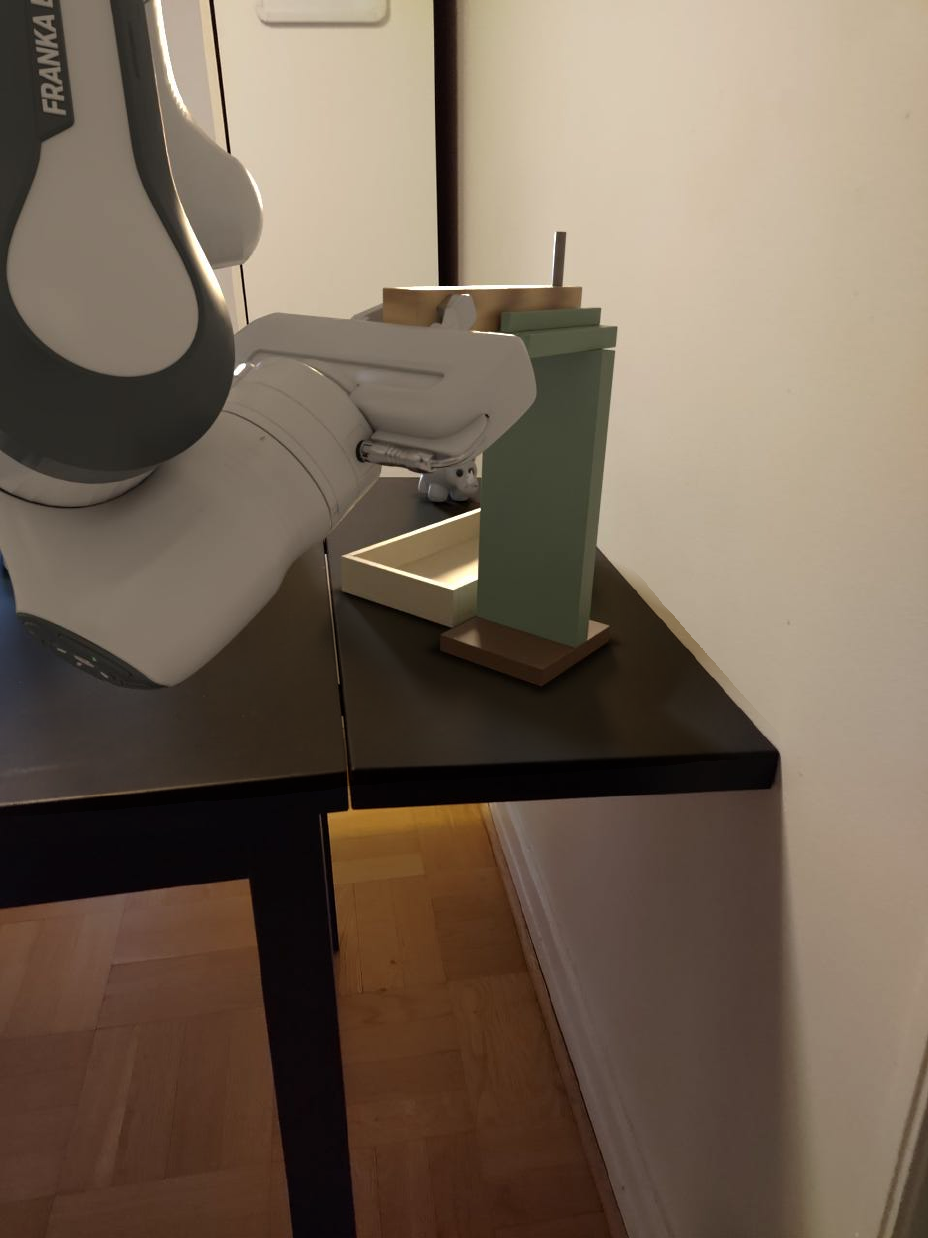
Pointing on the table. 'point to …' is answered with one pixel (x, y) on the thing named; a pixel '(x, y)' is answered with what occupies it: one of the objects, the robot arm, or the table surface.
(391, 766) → the table surface
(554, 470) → the door stand
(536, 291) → the hanger
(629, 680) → the table surface
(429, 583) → the tray
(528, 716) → the table surface
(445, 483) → the toy rhinoceros
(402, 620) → the table surface
